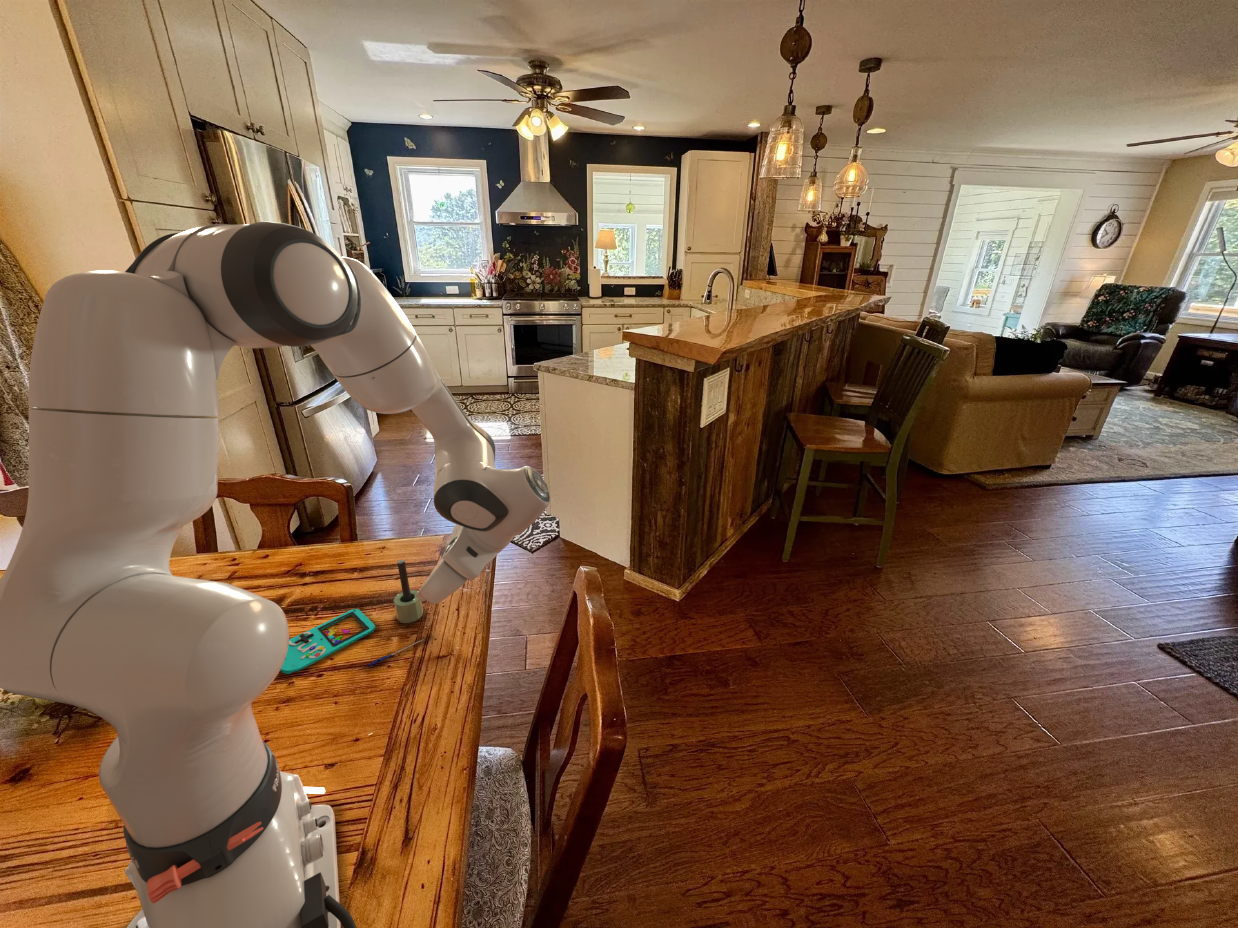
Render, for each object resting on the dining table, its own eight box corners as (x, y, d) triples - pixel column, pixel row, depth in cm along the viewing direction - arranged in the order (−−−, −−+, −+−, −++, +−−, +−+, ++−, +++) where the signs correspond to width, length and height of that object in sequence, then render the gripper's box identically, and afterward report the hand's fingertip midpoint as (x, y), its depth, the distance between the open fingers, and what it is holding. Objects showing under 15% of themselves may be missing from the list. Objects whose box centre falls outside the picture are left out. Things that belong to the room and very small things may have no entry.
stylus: (415, 614, 94) (405, 561, 89) (408, 617, 93) (398, 564, 89) (412, 610, 95) (403, 558, 90) (405, 613, 94) (396, 561, 89)
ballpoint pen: (368, 671, 82) (367, 667, 82) (366, 668, 82) (365, 664, 82) (429, 640, 89) (428, 636, 88) (426, 638, 89) (426, 633, 89)
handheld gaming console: (266, 648, 84) (356, 606, 95) (268, 653, 85) (357, 610, 95) (284, 674, 79) (377, 626, 90) (286, 679, 80) (378, 630, 90)
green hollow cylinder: (427, 617, 94) (424, 598, 92) (402, 628, 91) (399, 608, 89) (418, 605, 97) (414, 586, 95) (394, 615, 94) (390, 596, 93)
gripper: (483, 498, 95) (440, 539, 99) (443, 558, 76) (391, 605, 81) (508, 519, 97) (464, 558, 101) (473, 583, 78) (421, 628, 82)
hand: (431, 580), depth 91 cm, fingers open, 8 cm apart
